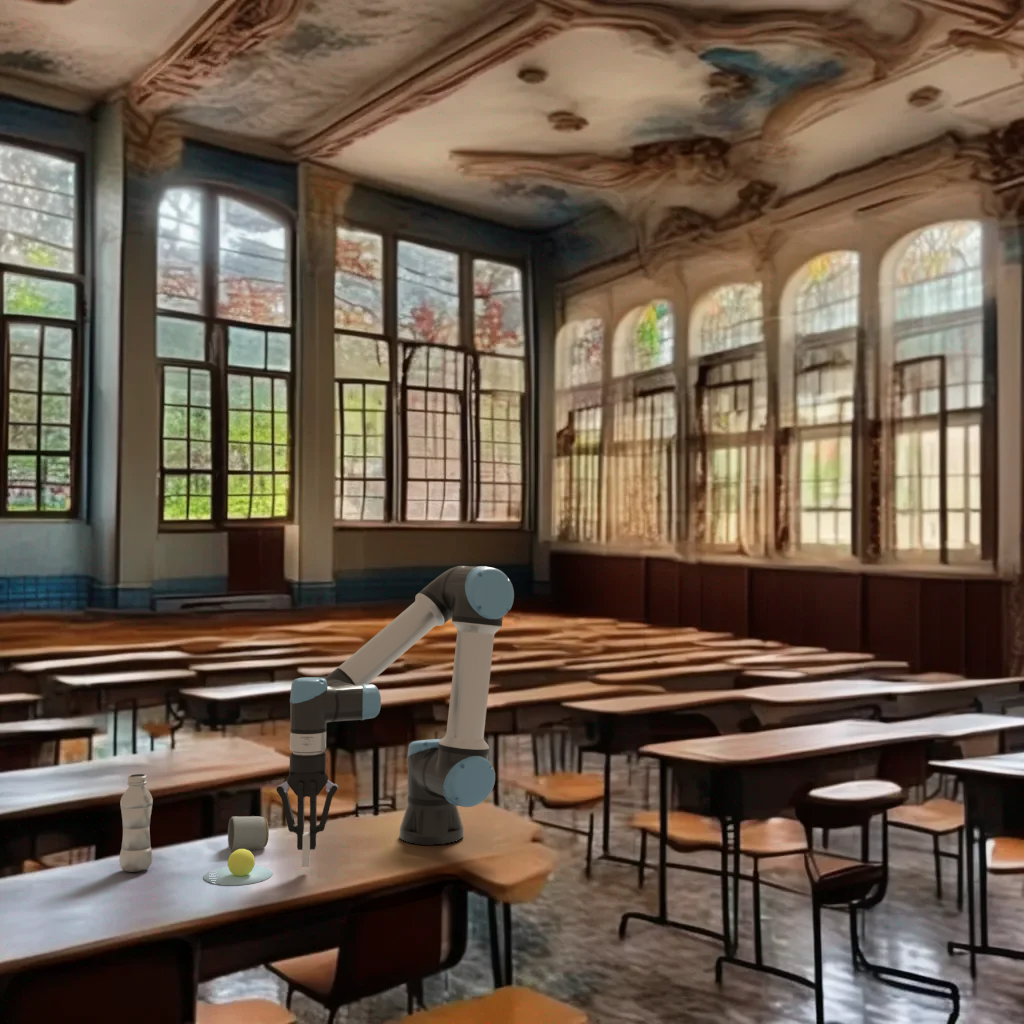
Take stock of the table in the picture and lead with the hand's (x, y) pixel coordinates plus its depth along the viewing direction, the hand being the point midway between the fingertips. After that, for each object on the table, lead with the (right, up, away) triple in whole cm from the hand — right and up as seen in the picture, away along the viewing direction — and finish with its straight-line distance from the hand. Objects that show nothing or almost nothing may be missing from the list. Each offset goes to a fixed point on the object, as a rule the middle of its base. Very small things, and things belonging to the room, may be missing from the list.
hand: (306, 864), depth 233 cm
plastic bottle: (-36, -2, +1) cm, 36 cm away
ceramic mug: (-18, -3, +20) cm, 27 cm away
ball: (-13, +1, -2) cm, 13 cm away
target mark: (-14, -2, -1) cm, 14 cm away
